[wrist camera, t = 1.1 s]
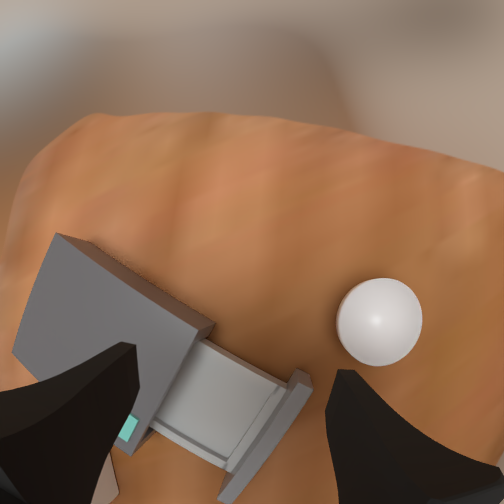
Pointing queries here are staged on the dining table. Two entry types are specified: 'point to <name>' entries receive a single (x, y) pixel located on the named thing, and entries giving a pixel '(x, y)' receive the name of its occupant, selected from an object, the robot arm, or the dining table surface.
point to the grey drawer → (229, 412)
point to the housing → (106, 326)
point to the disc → (379, 321)
